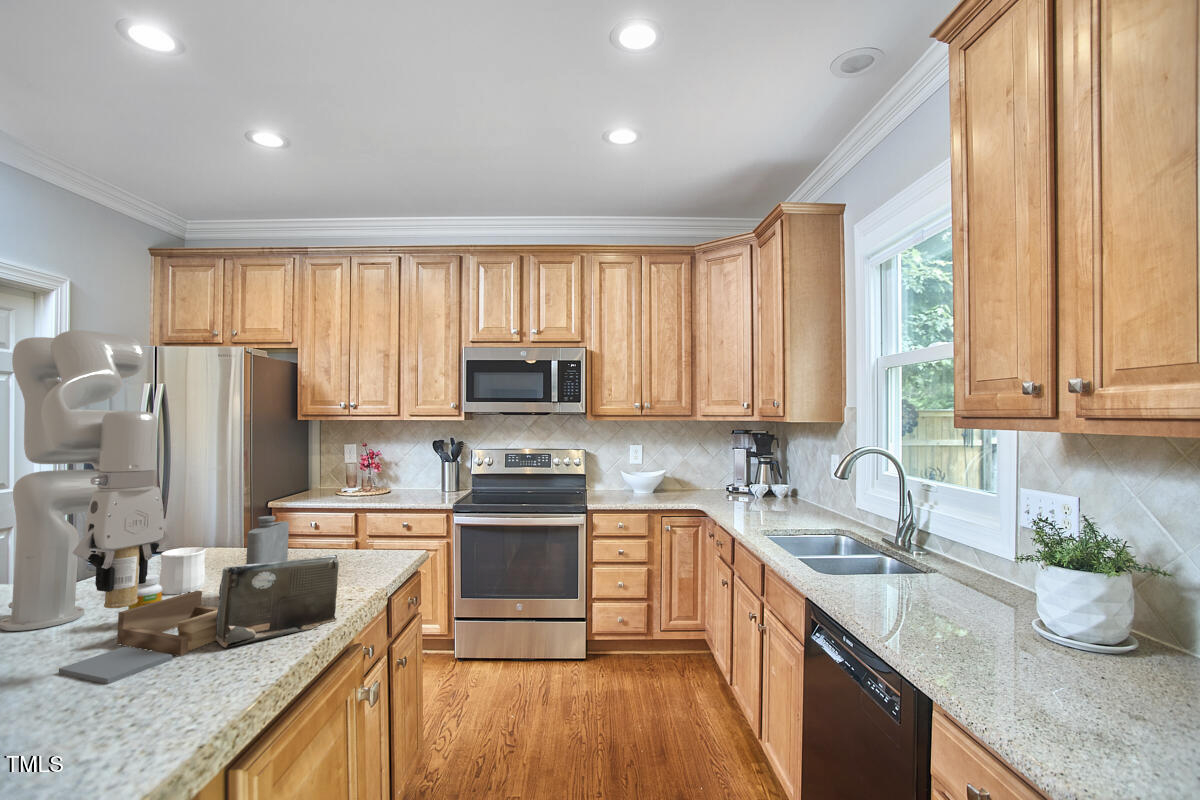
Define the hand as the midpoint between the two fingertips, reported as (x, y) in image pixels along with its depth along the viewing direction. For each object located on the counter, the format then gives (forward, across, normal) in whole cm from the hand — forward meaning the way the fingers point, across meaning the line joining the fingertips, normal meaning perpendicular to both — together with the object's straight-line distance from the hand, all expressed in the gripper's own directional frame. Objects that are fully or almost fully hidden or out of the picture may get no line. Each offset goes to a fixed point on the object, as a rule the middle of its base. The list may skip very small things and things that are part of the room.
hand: (121, 585), depth 96 cm
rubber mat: (+14, 0, 0) cm, 14 cm away
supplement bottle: (+14, +16, +18) cm, 28 cm away
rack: (+14, +14, +3) cm, 20 cm away
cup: (+14, +36, +35) cm, 52 cm away
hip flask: (+14, +36, +8) cm, 39 cm away
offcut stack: (+14, +14, -3) cm, 20 cm away
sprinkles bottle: (+4, 0, 0) cm, 4 cm away
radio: (+14, +23, -11) cm, 29 cm away
